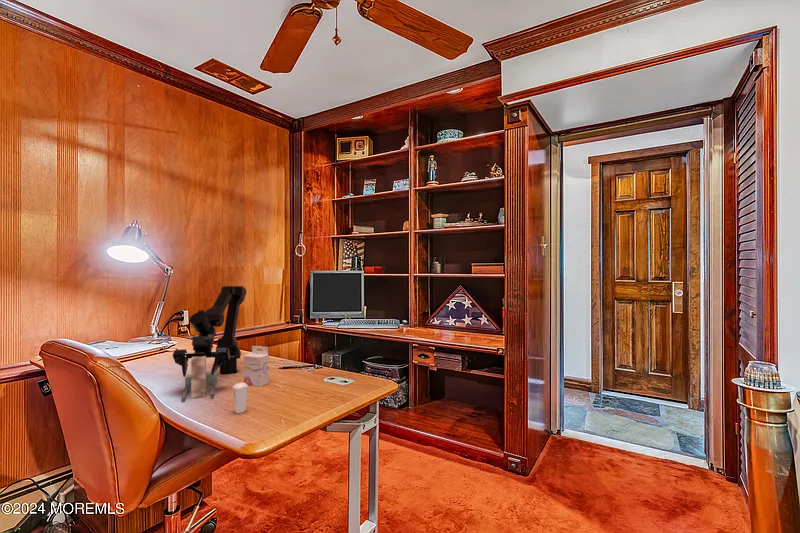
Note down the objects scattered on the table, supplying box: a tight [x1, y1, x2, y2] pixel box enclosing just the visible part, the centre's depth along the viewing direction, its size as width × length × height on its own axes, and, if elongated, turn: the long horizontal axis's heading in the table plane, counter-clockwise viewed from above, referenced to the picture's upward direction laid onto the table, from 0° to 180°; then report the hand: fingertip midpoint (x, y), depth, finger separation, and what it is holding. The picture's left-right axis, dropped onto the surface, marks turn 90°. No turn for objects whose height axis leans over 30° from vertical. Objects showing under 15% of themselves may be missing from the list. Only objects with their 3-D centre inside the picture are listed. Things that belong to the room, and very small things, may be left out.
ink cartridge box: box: [243, 345, 270, 387], centre depth 156 cm, size 9×5×15 cm, turn 71°
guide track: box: [181, 371, 218, 403], centre depth 147 cm, size 11×22×4 cm, turn 24°
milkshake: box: [230, 380, 249, 415], centre depth 126 cm, size 4×5×10 cm
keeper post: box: [190, 356, 207, 400], centre depth 142 cm, size 4×4×14 cm
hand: (198, 375), depth 141 cm, fingers open, 9 cm apart
